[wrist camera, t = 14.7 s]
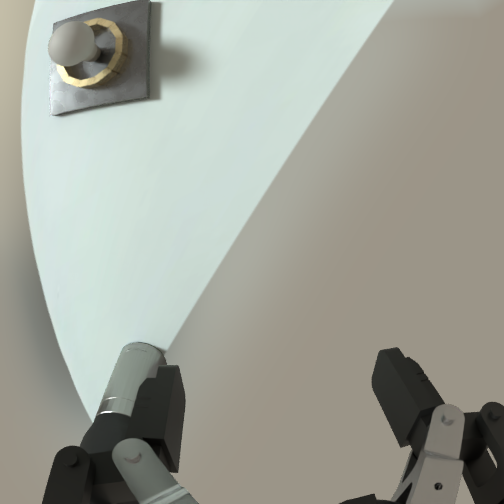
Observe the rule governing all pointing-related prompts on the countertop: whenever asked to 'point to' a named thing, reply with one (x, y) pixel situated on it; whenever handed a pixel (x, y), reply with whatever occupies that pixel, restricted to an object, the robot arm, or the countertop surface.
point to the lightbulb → (73, 44)
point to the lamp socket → (106, 60)
